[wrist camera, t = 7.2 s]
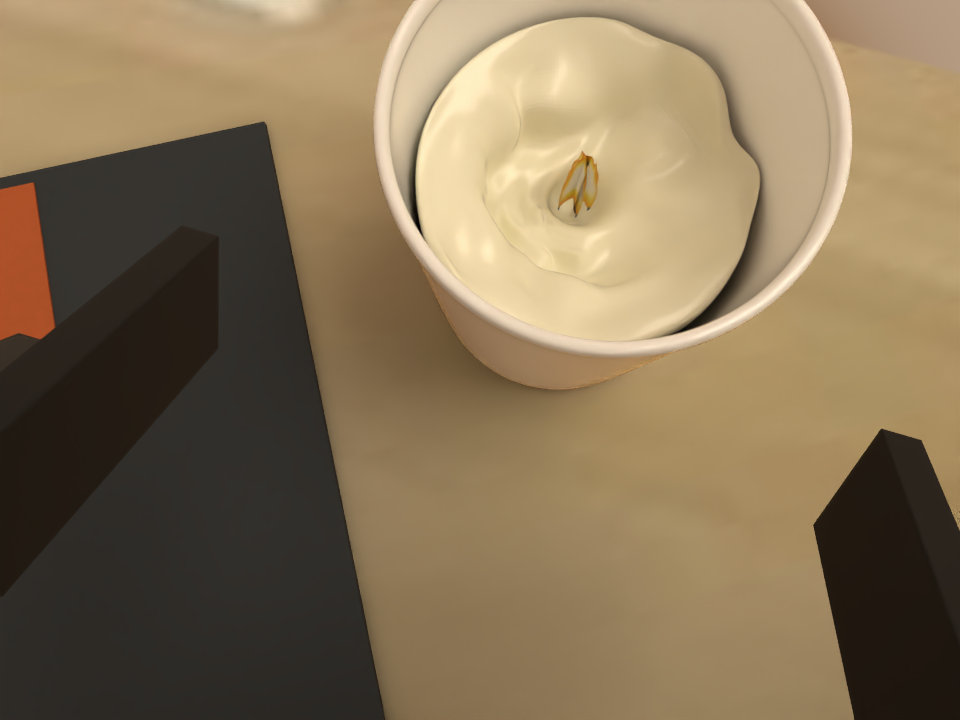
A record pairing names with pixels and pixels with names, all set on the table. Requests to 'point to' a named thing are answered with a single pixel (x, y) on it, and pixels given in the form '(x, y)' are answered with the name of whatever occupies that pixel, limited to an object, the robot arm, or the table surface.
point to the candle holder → (609, 171)
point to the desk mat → (187, 468)
